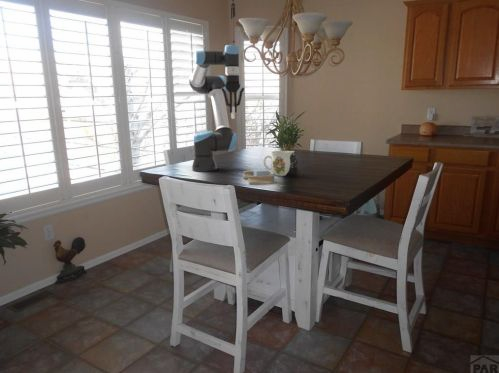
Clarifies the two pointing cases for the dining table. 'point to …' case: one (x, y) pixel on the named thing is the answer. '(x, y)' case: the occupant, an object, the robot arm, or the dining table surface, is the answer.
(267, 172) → the keeper
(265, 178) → the dock
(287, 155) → the pitcher
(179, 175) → the dining table surface
